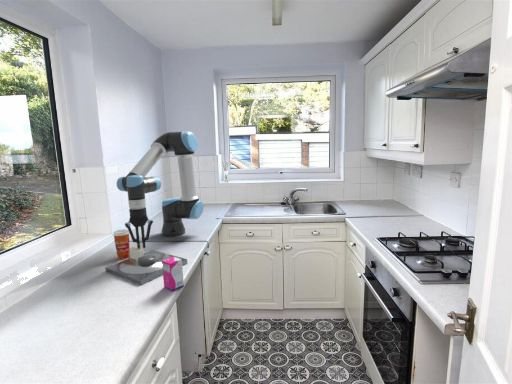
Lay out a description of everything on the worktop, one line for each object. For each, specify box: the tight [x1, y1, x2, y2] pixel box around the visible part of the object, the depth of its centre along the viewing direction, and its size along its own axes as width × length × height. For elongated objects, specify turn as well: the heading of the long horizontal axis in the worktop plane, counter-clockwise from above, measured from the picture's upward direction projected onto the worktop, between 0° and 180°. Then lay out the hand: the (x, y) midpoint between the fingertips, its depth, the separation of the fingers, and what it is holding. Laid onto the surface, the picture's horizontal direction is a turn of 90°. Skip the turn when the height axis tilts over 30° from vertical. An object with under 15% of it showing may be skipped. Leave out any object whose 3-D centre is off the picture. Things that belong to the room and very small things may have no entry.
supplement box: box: [162, 257, 185, 292], centre depth 119 cm, size 6×6×12 cm
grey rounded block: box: [129, 246, 156, 266], centre depth 141 cm, size 15×8×6 cm, turn 58°
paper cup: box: [112, 228, 131, 260], centre depth 152 cm, size 8×8×14 cm
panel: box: [104, 249, 188, 286], centre depth 139 cm, size 26×26×3 cm
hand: (142, 254), depth 145 cm, fingers closed
